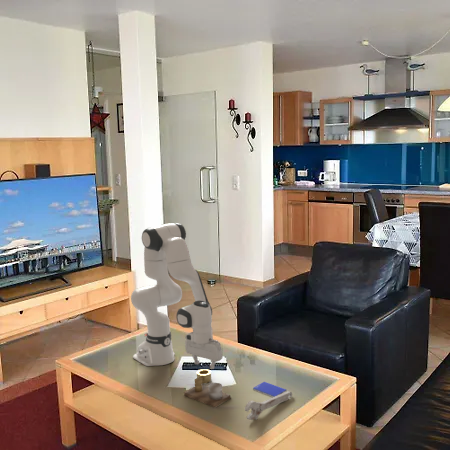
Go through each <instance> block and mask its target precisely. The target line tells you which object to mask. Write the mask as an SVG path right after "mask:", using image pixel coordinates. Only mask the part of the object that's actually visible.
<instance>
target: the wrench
mask: <svg viewBox="0 0 450 450" xmlns="http://www.w3.org/2000/svg"><path fill="white" fill-rule="evenodd" d="M289 397H291V398H293V392H292V391H289V390H287V392H284V393H282V394H280V395H277V396H275V397H270V398H269V399H265V400H263V401H261V402H258V401H254V400H250V401H247V403H246V405H245V406H244V411H245V412H249V411H250V410H251V411H250V413H249V414H248V415H247V416H246V419H248V420H251V421H252V420H256V421H257V420H258V418H259V416H260V415H261V414H262V413H263V411H266V410H267V409H269V408H272V407H274V406H277V405H279V404H281V403H283V402H286V401H288V399H289V400H290V399H291V398H289Z"/></svg>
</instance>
